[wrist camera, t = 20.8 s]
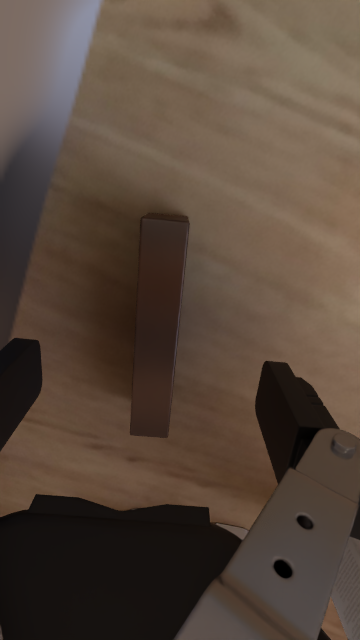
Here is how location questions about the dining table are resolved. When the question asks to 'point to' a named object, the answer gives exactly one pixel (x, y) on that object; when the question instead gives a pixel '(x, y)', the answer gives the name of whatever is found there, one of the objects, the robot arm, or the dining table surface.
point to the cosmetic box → (349, 590)
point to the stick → (157, 321)
